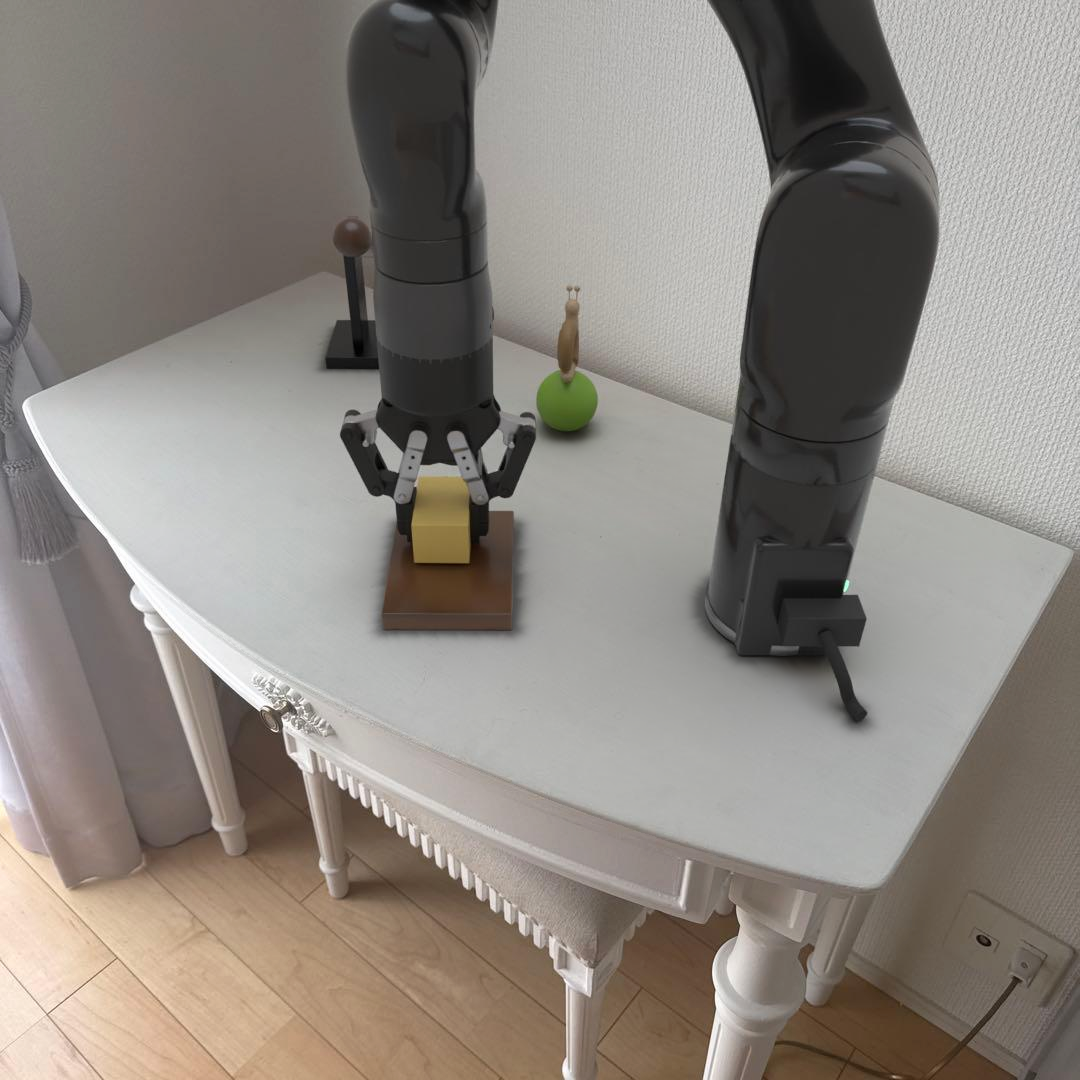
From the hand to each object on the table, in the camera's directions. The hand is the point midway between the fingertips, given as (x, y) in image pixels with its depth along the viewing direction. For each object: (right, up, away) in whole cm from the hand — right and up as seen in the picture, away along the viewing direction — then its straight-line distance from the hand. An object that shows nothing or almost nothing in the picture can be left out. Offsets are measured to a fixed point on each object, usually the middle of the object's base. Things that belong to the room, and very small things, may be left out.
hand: (444, 535), depth 78 cm
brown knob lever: (-8, +24, +15) cm, 30 cm away
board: (+1, -3, 0) cm, 3 cm away
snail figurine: (+10, +10, +16) cm, 22 cm away
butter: (0, 0, 0) cm, 0 cm away
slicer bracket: (-9, +19, +27) cm, 34 cm away
